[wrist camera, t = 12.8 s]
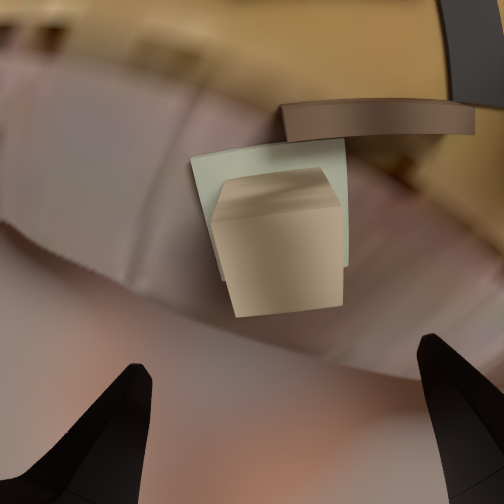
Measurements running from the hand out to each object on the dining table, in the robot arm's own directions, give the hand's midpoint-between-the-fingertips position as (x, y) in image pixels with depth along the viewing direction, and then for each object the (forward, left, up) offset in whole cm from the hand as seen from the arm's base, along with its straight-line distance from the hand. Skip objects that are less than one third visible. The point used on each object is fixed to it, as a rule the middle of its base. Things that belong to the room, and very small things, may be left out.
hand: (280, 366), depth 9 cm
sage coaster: (0, 0, -10) cm, 10 cm away
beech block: (0, 0, -10) cm, 10 cm away
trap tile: (-14, -10, -10) cm, 20 cm away
